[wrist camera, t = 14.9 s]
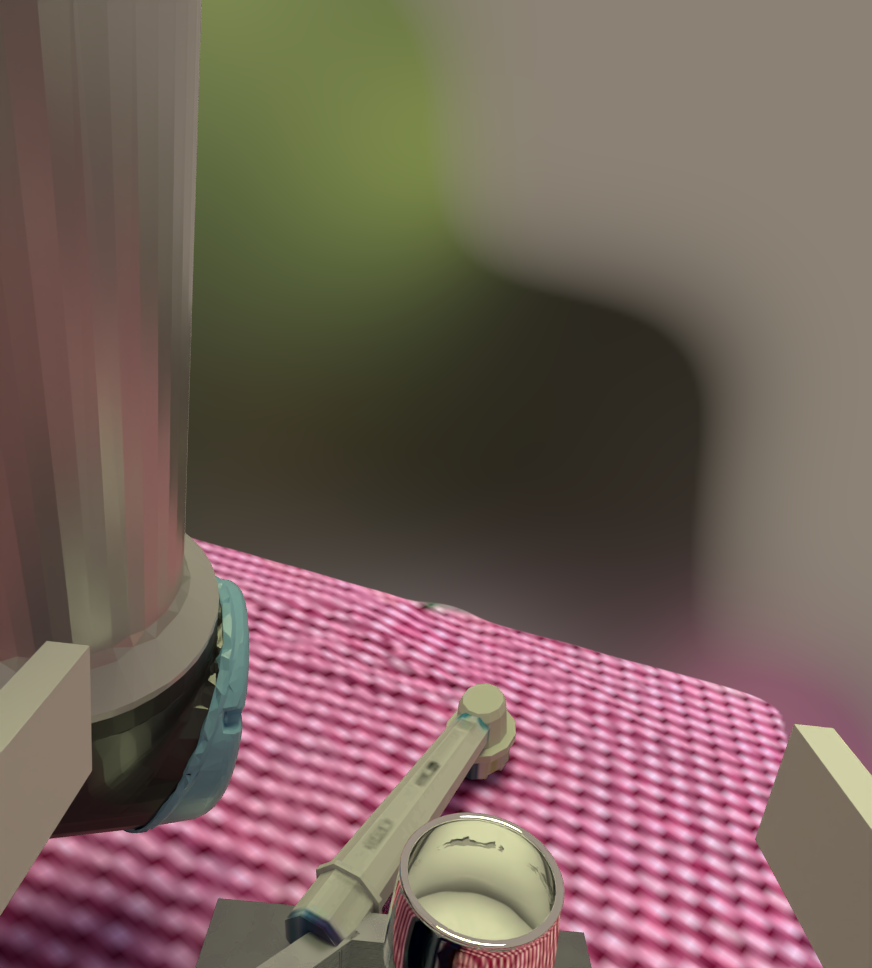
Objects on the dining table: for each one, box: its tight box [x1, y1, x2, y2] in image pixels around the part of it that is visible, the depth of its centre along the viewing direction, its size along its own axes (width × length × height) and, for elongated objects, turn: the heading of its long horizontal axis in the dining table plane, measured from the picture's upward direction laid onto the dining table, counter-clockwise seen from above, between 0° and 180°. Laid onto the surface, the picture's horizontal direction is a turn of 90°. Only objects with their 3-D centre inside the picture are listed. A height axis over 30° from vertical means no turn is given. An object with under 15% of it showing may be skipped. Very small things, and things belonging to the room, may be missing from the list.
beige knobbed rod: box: [285, 684, 516, 968], centre depth 51 cm, size 5×7×25 cm
